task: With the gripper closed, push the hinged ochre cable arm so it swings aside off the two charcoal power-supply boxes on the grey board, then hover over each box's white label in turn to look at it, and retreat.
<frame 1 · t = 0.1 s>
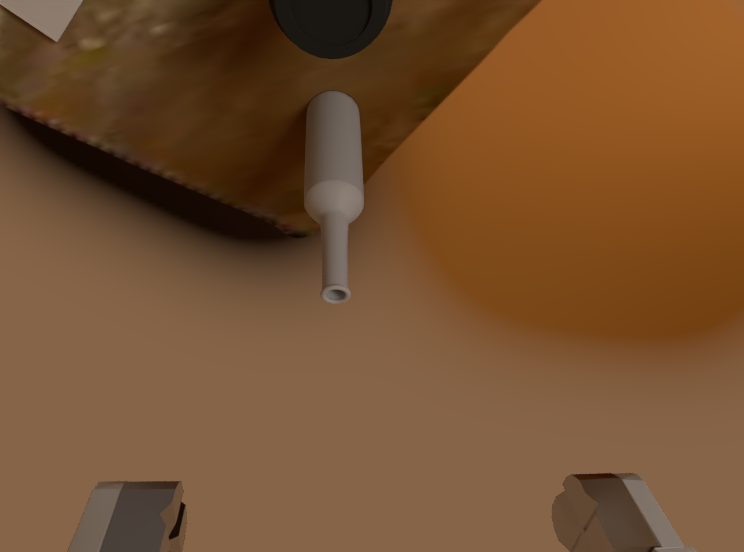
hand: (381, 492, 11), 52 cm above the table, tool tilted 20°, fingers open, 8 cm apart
bottle: (333, 113, 63), on the table
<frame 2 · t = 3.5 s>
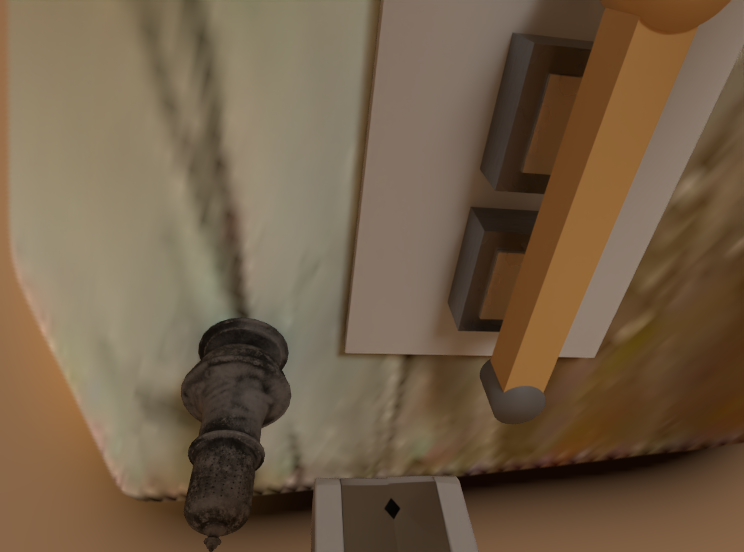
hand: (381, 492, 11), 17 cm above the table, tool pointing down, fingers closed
dark grey tall piece: (244, 349, 31), on the table
cable arm: (573, 221, 20), point 6 cm above the table, hinge at 0.0°
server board: (521, 164, 25), on the table
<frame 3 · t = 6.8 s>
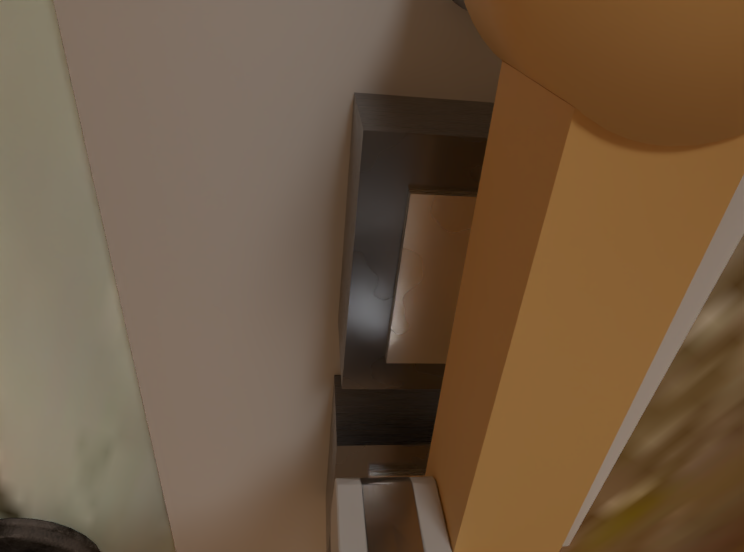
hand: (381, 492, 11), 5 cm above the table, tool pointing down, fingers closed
dark grey tall piece: (33, 551, 20), on the table
cable arm: (492, 487, 10), point 6 cm above the table, hinge at 2.0°, touching gripper
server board: (422, 301, 15), on the table
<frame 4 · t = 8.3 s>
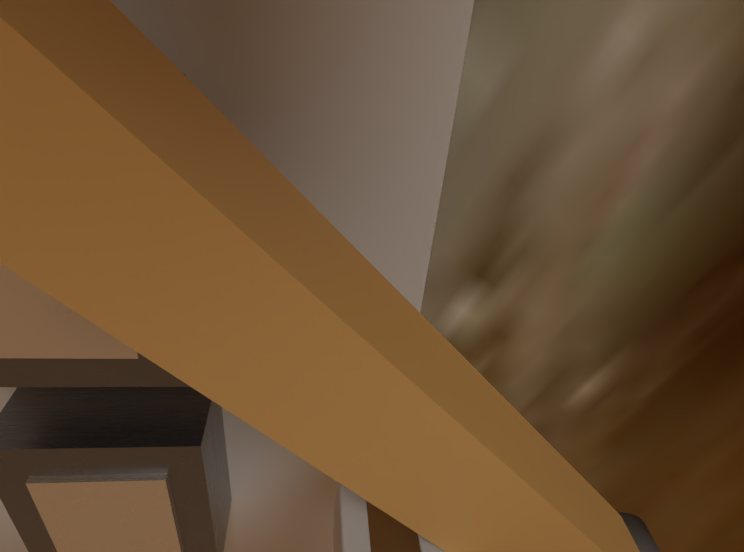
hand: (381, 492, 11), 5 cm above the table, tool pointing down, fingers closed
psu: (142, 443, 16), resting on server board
cable arm: (384, 392, 8), point 6 cm above the table, hinge at 43.8°, touching gripper
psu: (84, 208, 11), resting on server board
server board: (123, 292, 14), on the table
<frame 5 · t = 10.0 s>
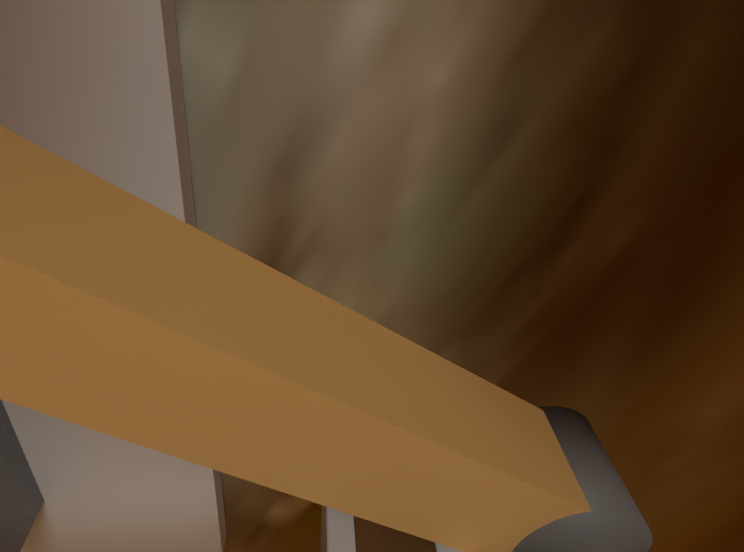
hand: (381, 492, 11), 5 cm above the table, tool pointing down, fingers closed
cable arm: (64, 285, 6), point 6 cm above the table, hinge at 59.3°, touching gripper
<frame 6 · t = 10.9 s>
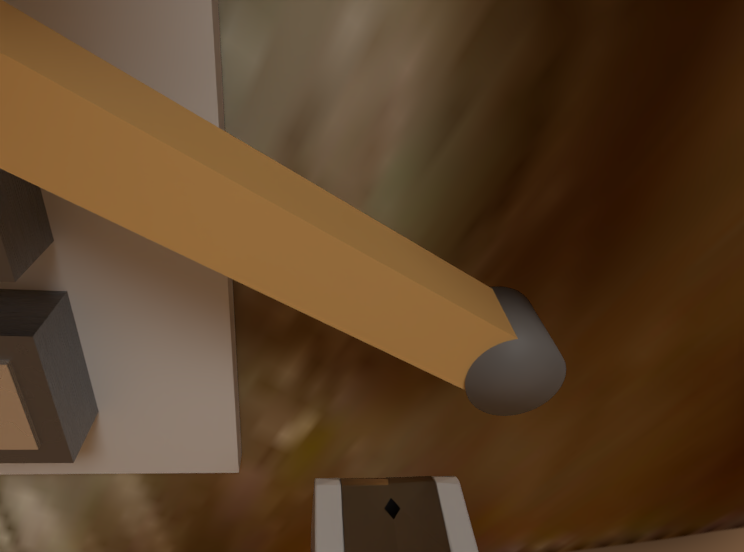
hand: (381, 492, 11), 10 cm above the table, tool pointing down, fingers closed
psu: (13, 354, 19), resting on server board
cable arm: (170, 172, 11), point 6 cm above the table, hinge at 61.3°
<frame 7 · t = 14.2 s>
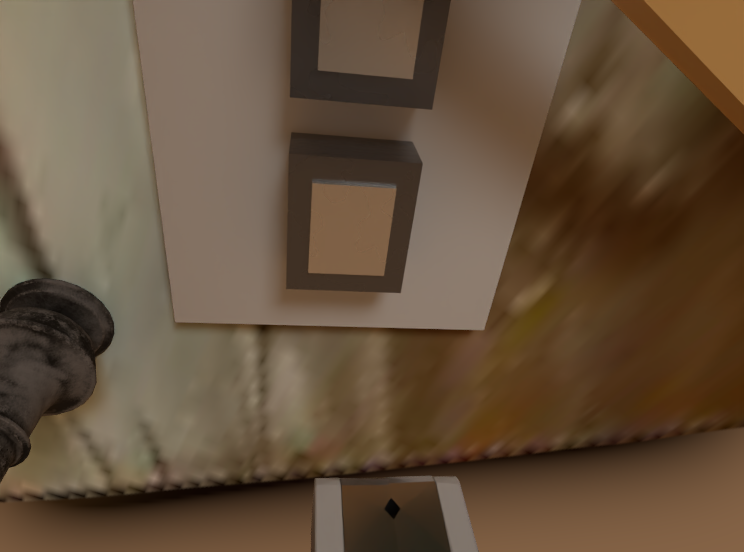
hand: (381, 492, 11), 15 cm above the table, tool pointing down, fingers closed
dark grey tall piece: (60, 319, 26), on the table
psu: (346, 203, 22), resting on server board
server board: (355, 80, 20), on the table
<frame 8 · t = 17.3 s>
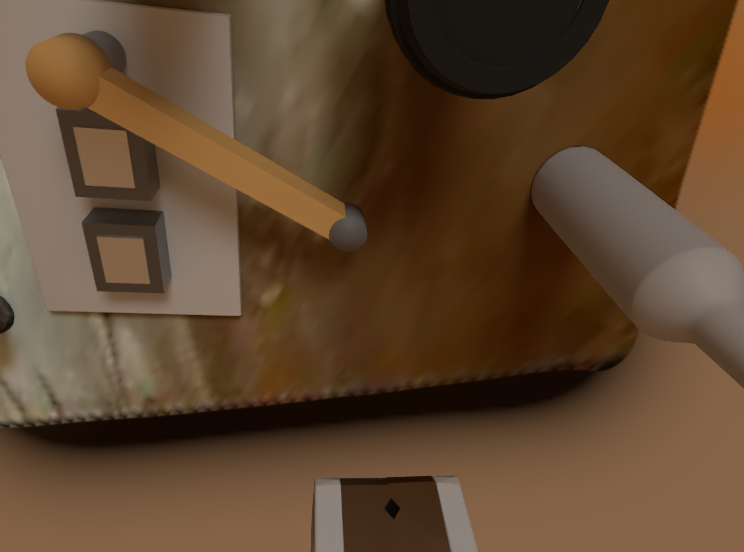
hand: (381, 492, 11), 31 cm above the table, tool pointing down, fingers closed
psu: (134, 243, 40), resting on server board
bottle: (568, 183, 42), on the table
cable arm: (221, 155, 32), point 6 cm above the table, hinge at 61.3°
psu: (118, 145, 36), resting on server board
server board: (129, 179, 38), on the table
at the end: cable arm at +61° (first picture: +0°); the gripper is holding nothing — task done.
